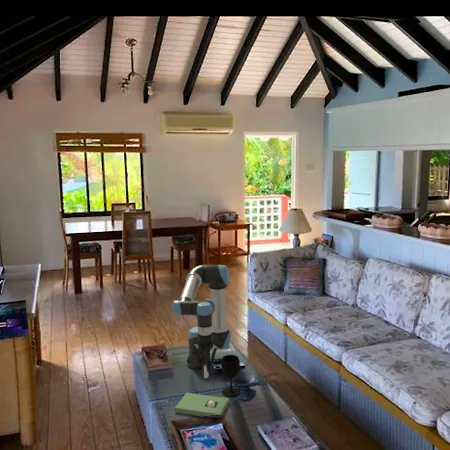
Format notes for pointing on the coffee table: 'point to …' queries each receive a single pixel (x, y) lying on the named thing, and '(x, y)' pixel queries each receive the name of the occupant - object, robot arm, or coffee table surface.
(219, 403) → the putting mat
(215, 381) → the coffee table surface
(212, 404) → the ball
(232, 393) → the wine glass
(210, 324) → the robot arm
